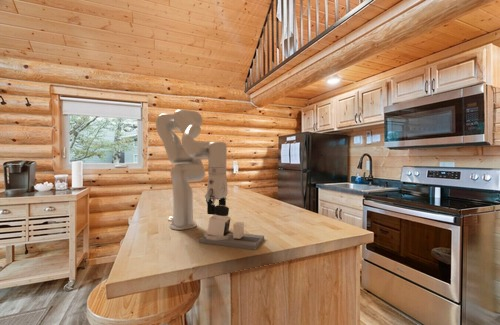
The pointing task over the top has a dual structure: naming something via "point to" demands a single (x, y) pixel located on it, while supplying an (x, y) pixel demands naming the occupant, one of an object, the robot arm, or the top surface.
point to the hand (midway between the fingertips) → (216, 211)
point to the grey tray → (233, 240)
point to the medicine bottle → (219, 222)
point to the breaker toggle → (238, 230)
